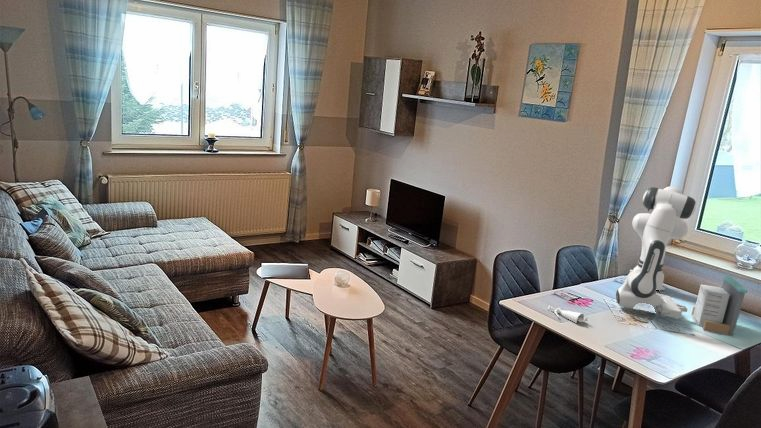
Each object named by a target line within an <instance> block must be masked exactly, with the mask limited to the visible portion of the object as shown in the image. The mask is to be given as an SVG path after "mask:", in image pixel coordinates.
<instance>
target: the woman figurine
mask: <svg viewBox="0 0 761 428" xmlns="http://www.w3.org/2000/svg"><path fill="white" fill-rule="evenodd" d="M548 310H549V312H550V311H552V312H551V313H553V314H555V315H556V316H557V317H560V314H561V315H562V317H564V318H565V319H567V320H568V319H569V321H570V320H571V321H570V322H572V321H573V323H574V322H575V324H576V323H577V322H579V323H581V322H582V323H585V322H588V321H589V320H588V319H589V317H588V316H587V317H586V318H585V315H584V313H582V312H576V311H573V310H564V309H561V307H557V308H555V307H554V306H551V305H549V306H548V307H547V311H548Z"/></svg>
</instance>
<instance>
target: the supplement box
mask: <svg viewBox="0 0 761 428" xmlns="http://www.w3.org/2000/svg"><path fill="white" fill-rule="evenodd" d="M729 296H730V294H729V293H727V292H726V291H725V290H724V289H723V288H722V287H719V286H714V285H708V284H700V287H699V290H698V294H697V299H696V302H695V306H694V307H695V310H694V314H693V316H692V320H694V322H695V323H696V325H698V326H699V327H702V328H703V327H704V323H705V320H706V321H711V322H717V323H722V322H723V318H724V315H725V311H726V307H727V303H728V300H729Z"/></svg>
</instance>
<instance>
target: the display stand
mask: <svg viewBox="0 0 761 428" xmlns="http://www.w3.org/2000/svg"><path fill="white" fill-rule="evenodd" d="M722 279H723V281H722V282H723V283H722V286H721V288H723V289H724V290H725V291H726V292H727V293H729V294H730V296H729V300H728V303H727V307H726V311H725V315H724V318H723V322H722V323H717V322H711V321H706V320H705V323H704V327H703V326H702V330H703V331H706V332H713V333H717V334H723V335H729V336H734V334H735V329H736V326H737V323H738V319H739V316H740V312H741V309H742V305H743V302H744V298H745V294H747V293H748V289H747V288H746V287H744V286H743V285H742V284H740V282H738V281H737V280H736V279H734V277H732V276H731V275H725V274H724V275H723V276H722ZM694 310H695V306H693V307H692V311H691V316H692V317H693V314H694Z"/></svg>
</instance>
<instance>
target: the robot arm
mask: <svg viewBox="0 0 761 428" xmlns="http://www.w3.org/2000/svg"><path fill="white" fill-rule="evenodd" d="M696 203H697V201H696V200H695V199H694V198H693V197H691V196H689V195H688V196H686V195H685V194H683V192H682V191H681V189H680V188H678V187H676V186H674V185H673V186H671V185H669V186H666V187H665V188H659V187H655V186H654V187H653V186H652V187H648V189H647V190H646V191H645V192H644V193H643V196H642V205H643V207H644V208H645V209H647V212H648V213H644V212H641V213H637V214H636V215H635V216H634V217H633V219H632V222H631V223H632V224H631V225H632V229H633V230H634V231H635V232H636V233H637V234H638V236H639V238H640V239H641V253H640V257H639V258H638V260H637V265H636V266H635V267H633V269H629V273H628V274H627V275H626V279H625V280H624V282H623V283H622V285H621V286H620V287H619V288H617V290H616V291H615V292H616V293H615V299H616V300H615V301H616V303H617V304H618V306H619V307H622V308H625V309H628V310H633V307H634V306H635V305H636V304H638V303H646V304H650V305H652V306H653V307H654V309H655V312H656V314H658V313H661V315H662V316H666V317H669V318H673V319H681V317H682V314H683V313H688V308H687V306H686V305H681V304H679V303H676V302H675V301H674V300H673V298H672V297H671V296H669V295H667V294H662V293H658V292H660V291H665V290H666V287H664V286H663V285H664V280H665V274H664V272H663V270H664V261H665V256H666V251H667V249H666V248H667V245H668V243H669V241H670V240H682V239H683V238H685V237H686V236H687V234H688V232H689V226H688V223H687V222H686V221H685V220H687V219H689V218H691V216H692V215H693V214H694V213H695V211H696V209H697V204H696ZM650 210H652V212H651V213H649V212H650ZM656 289H657V290H659V291H658V292H657V291H656ZM656 314H655V315H656Z"/></svg>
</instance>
